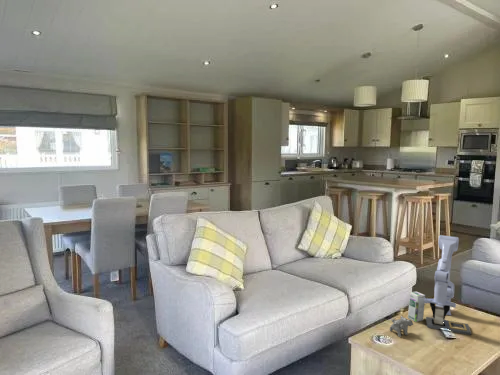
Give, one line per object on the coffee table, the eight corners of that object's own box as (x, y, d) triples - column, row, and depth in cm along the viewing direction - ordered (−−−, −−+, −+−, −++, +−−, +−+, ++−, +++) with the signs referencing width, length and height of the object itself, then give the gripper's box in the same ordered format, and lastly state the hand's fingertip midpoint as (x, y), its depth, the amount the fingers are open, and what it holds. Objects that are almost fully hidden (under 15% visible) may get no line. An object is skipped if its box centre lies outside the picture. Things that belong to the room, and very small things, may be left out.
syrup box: (407, 317, 208) (409, 292, 206) (415, 316, 210) (417, 290, 209) (415, 322, 203) (417, 296, 201) (423, 320, 205) (425, 294, 204)
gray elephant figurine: (386, 332, 192) (387, 318, 190) (399, 324, 199) (400, 311, 198) (403, 340, 184) (404, 325, 183) (416, 332, 192) (417, 317, 190)
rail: (425, 319, 207) (426, 316, 206) (467, 326, 199) (467, 323, 199) (427, 327, 197) (427, 324, 197) (470, 335, 190) (471, 332, 190)
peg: (433, 320, 202) (434, 305, 201) (442, 321, 201) (443, 307, 200) (434, 323, 199) (435, 308, 198) (442, 324, 197) (444, 310, 196)
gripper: (425, 293, 197) (423, 318, 198) (457, 298, 192) (455, 323, 193) (425, 288, 203) (423, 313, 205) (455, 293, 198) (453, 318, 200)
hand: (438, 318), depth 200 cm, fingers closed on peg, 4 cm apart
